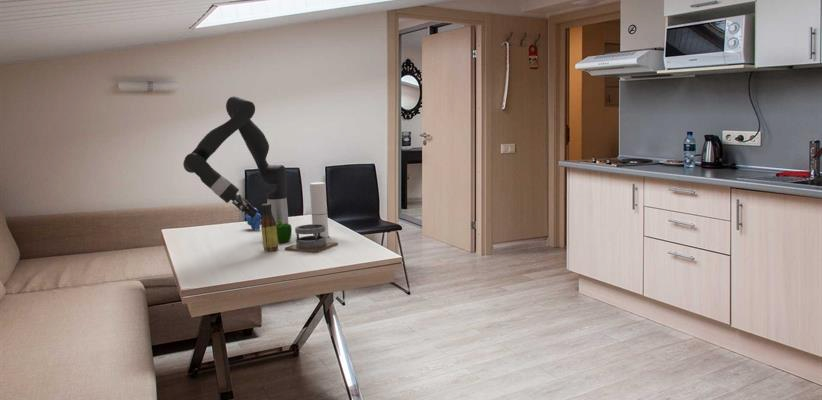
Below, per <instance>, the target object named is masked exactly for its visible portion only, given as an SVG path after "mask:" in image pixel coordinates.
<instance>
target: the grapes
mask: <svg viewBox="0 0 822 400" xmlns="http://www.w3.org/2000/svg"><path fill="white" fill-rule="evenodd" d="M251 206H252V205H251ZM252 207H253V208H255V209H256V210H257V212H256V213H255V216H254V217H253V218H251V217H250V216H249V215H248V214H247V213H246V214H245V215H244V216H245V217H244V218H245V219H246V223H247V225H248V226H250V228H251V229H252V230H260V228H261V219H262V215H261V214H260V213H259V209H257V208H256V207H254V206H252Z"/></svg>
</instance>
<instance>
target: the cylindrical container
mask: <svg viewBox="0 0 822 400" xmlns="http://www.w3.org/2000/svg"><path fill="white" fill-rule="evenodd" d="M326 187H327V186H326V182H321V181H317V182H310V183H309V192H310V193H309V194H310V208H311V209H310V210H311V212H310V213H311V224H322V225H325V228H326V230H325V232H322V233H320V236H325V237H326V238H328V237H329V236H330V234H329V223H328V222H329V221H328V219H329V218H328V207H327V206H328V205H327V204H328V203H327V190H326ZM314 235H315V234H312V236H314ZM317 235H318V233H317Z"/></svg>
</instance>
